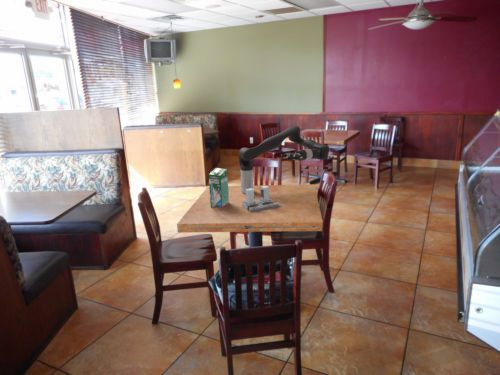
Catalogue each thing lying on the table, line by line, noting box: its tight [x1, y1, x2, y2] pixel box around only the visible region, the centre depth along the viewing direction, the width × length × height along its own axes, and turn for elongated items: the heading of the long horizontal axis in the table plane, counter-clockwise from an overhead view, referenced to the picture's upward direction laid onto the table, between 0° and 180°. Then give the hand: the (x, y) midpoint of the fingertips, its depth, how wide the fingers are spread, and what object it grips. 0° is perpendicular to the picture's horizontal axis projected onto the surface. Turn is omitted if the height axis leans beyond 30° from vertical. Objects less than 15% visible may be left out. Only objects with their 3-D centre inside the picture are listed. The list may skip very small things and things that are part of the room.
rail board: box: [240, 198, 282, 214], centre depth 233 cm, size 16×22×4 cm
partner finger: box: [245, 188, 256, 205], centre depth 231 cm, size 4×5×12 cm
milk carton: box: [208, 167, 230, 209], centre depth 237 cm, size 9×9×25 cm
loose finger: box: [260, 185, 270, 202], centre depth 235 cm, size 4×5×12 cm
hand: (284, 157), depth 241 cm, fingers open, 8 cm apart
